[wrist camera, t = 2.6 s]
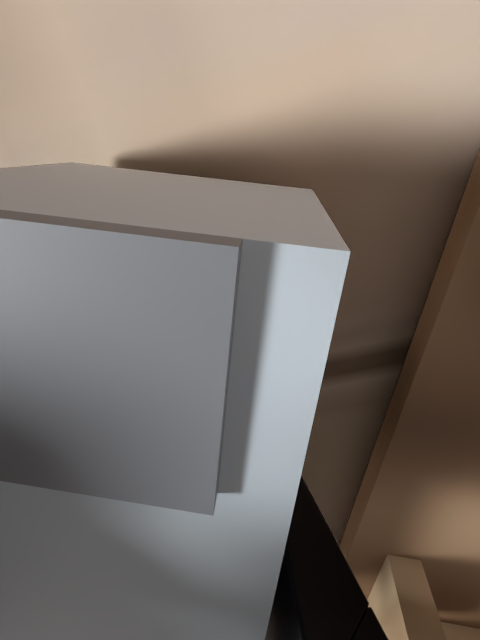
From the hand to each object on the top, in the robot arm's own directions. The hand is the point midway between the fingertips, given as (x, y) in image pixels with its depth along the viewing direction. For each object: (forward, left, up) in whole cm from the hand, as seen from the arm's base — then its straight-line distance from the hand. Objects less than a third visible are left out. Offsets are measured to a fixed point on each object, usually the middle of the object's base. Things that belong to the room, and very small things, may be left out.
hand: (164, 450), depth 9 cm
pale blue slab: (0, 0, -2) cm, 2 cm away
